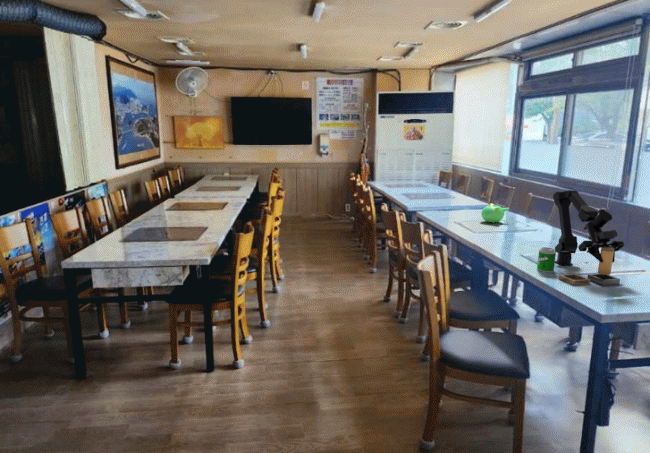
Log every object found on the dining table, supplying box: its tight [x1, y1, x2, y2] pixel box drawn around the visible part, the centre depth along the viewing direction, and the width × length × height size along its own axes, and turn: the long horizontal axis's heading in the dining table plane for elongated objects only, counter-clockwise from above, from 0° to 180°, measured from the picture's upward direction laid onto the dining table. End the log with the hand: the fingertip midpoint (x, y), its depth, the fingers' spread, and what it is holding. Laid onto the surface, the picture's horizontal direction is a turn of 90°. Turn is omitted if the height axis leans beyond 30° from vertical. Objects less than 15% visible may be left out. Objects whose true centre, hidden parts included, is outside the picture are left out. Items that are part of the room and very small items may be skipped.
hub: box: [586, 273, 624, 288], centre depth 205 cm, size 12×12×4 cm
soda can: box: [536, 247, 557, 273], centre depth 222 cm, size 8×8×12 cm
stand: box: [557, 273, 592, 287], centre depth 206 cm, size 10×10×3 cm
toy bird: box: [481, 202, 510, 224], centre depth 346 cm, size 18×17×15 cm
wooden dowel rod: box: [597, 247, 614, 276], centre depth 204 cm, size 5×5×12 cm
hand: (607, 262), depth 202 cm, fingers closed on wooden dowel rod, 5 cm apart
